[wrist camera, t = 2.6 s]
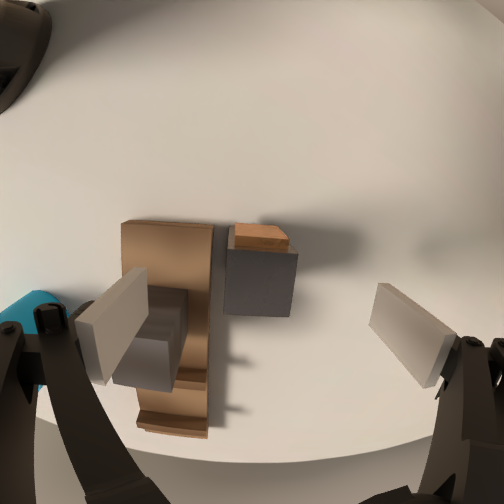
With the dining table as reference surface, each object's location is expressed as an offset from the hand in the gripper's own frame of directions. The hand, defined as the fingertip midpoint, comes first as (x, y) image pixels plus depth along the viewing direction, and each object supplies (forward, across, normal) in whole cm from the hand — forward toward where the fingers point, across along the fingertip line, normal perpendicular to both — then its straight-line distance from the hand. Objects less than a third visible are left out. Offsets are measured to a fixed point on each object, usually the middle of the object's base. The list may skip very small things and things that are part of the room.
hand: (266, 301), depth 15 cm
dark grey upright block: (+10, 0, 0) cm, 10 cm away
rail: (+10, -7, -10) cm, 15 cm away
